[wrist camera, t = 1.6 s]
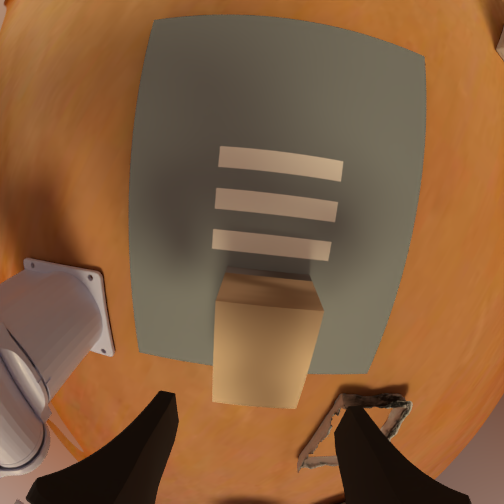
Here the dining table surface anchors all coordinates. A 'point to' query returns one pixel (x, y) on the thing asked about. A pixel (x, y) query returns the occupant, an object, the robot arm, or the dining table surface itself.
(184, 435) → the dining table surface
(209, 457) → the dining table surface
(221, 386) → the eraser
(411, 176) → the slate board
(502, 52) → the supplement box
